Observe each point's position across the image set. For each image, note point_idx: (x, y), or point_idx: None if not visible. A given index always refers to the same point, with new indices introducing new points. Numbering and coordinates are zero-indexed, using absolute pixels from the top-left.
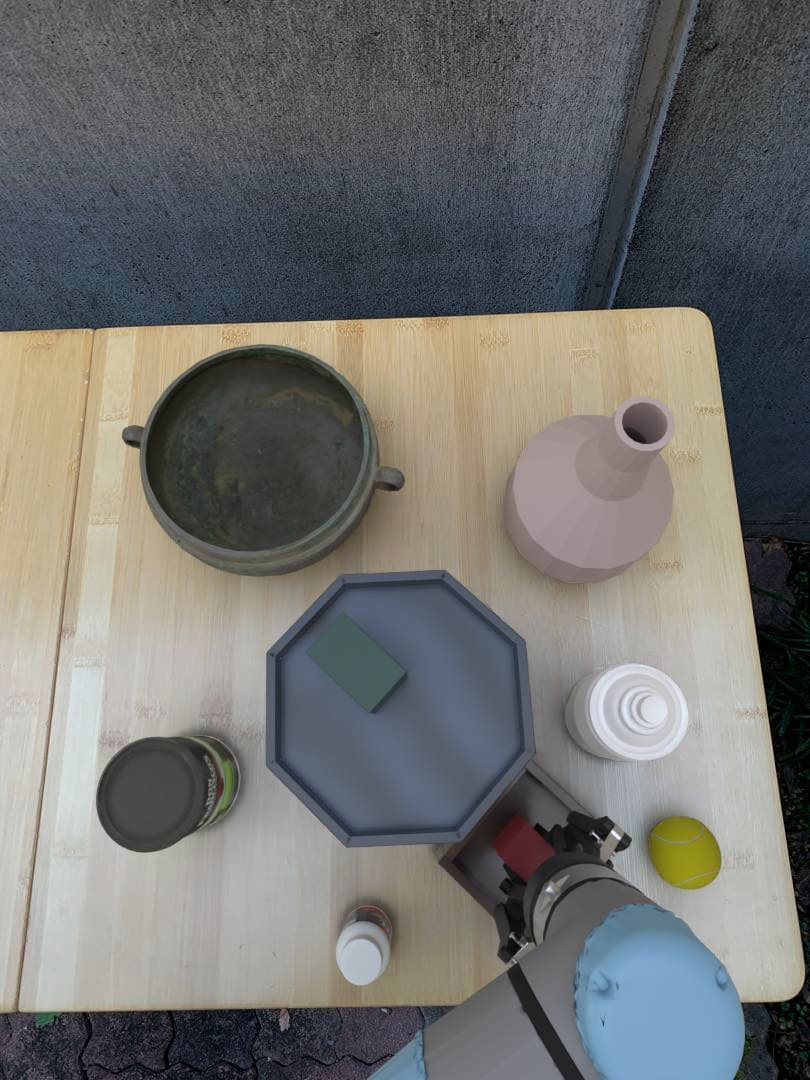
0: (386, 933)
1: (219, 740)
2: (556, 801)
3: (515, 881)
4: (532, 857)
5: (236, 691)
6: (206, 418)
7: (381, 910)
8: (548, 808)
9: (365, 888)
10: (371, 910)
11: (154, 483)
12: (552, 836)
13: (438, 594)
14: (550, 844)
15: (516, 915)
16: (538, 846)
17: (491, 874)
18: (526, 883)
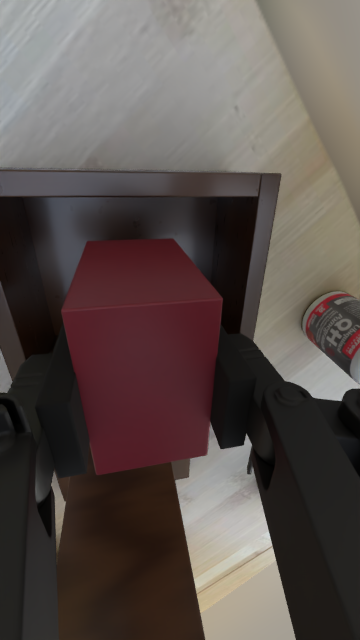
0: (350, 347)
1: (257, 485)
2: (39, 264)
3: (238, 440)
4: (150, 421)
5: (220, 501)
6: None
7: (304, 324)
8: (58, 265)
9: (291, 345)
10: (316, 343)
11: None
12: (53, 509)
13: None
14: (81, 460)
15: (346, 448)
16: (116, 431)
17: (194, 263)
18: (222, 418)
